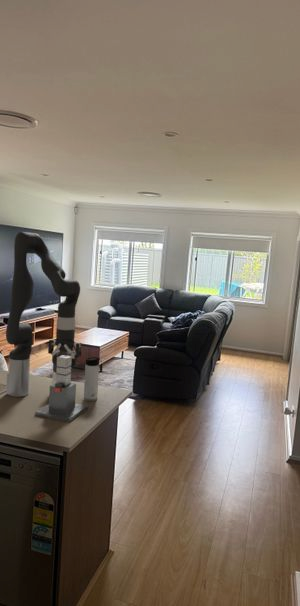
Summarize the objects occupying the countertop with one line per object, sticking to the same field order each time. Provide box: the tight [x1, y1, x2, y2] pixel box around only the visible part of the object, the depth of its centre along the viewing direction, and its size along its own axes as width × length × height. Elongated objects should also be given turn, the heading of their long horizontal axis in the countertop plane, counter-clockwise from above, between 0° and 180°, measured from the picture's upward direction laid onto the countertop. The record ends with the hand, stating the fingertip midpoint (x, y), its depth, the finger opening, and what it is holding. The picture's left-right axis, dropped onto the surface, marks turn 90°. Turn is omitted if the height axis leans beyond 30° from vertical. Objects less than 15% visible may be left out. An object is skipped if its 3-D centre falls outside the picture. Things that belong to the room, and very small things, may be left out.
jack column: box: [56, 355, 72, 387], centre depth 174 cm, size 5×5×18 cm
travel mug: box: [83, 356, 101, 402], centre depth 192 cm, size 6×7×20 cm
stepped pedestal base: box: [34, 382, 88, 423], centre depth 175 cm, size 16×16×13 cm
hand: (64, 365), depth 173 cm, fingers open, 8 cm apart
